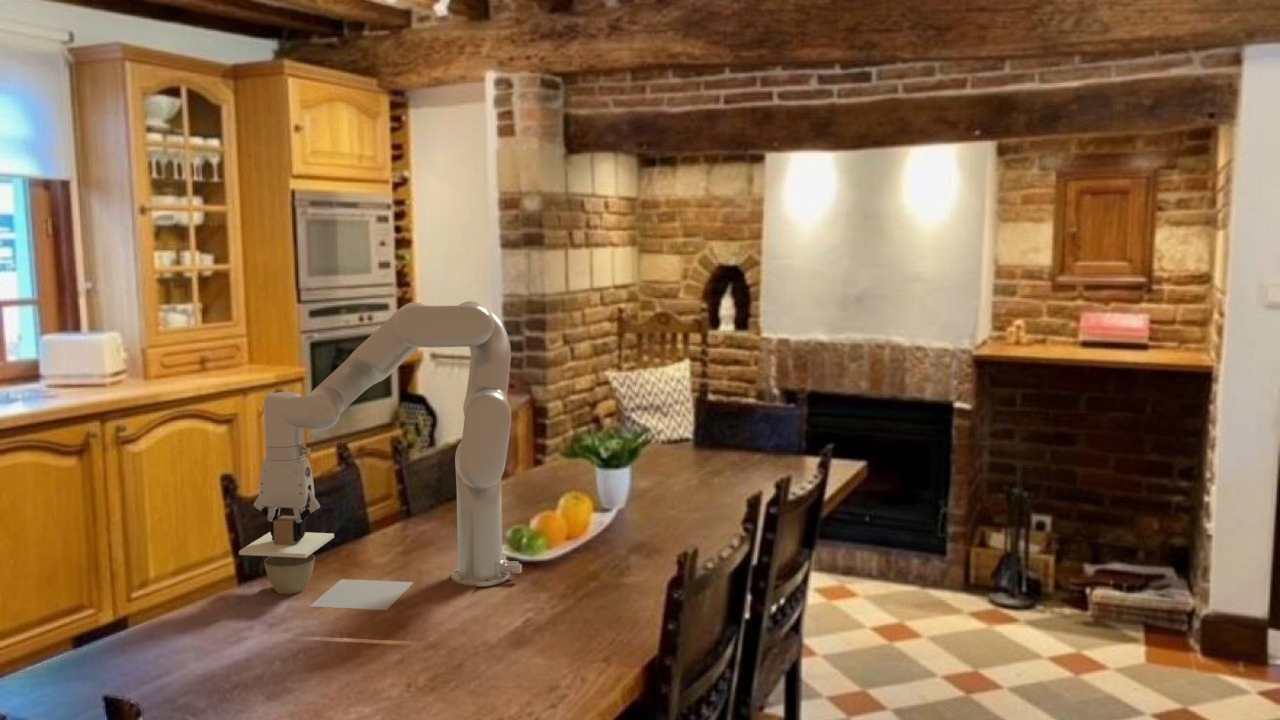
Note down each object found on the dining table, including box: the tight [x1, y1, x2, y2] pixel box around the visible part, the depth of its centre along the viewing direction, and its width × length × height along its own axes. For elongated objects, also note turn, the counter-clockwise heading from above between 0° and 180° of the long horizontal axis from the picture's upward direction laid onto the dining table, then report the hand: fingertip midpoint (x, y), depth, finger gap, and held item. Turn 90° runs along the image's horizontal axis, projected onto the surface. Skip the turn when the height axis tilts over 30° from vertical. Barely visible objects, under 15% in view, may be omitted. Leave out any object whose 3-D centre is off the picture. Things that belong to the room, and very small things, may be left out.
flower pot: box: [263, 553, 316, 595], centre depth 211 cm, size 10×10×7 cm
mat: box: [308, 578, 414, 611], centre depth 209 cm, size 16×16×1 cm
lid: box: [238, 515, 335, 558], centre depth 210 cm, size 14×14×6 cm
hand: (287, 538), depth 210 cm, fingers closed on lid, 4 cm apart
